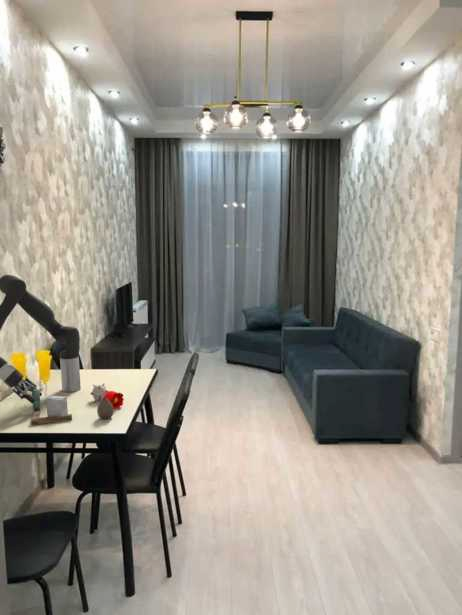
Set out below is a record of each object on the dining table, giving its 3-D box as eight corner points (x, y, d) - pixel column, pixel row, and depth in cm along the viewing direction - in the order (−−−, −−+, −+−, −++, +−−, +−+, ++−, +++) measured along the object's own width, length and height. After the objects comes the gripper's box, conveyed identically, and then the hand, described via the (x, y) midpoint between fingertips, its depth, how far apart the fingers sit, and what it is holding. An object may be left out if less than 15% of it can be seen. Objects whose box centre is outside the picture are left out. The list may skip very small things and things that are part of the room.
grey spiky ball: (102, 408, 242) (102, 396, 235) (86, 402, 243) (86, 389, 236) (111, 395, 248) (112, 383, 241) (96, 388, 249) (96, 376, 243)
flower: (114, 391, 239) (126, 393, 234) (110, 408, 237) (122, 410, 233) (102, 388, 233) (114, 391, 228) (97, 405, 231) (109, 407, 226)
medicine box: (68, 415, 223) (67, 396, 222) (62, 419, 219) (60, 399, 217) (53, 413, 225) (52, 395, 224) (47, 417, 221) (45, 398, 220)
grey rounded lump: (99, 415, 222) (98, 396, 220) (115, 415, 222) (113, 395, 221) (96, 421, 215) (95, 401, 214) (112, 420, 215) (111, 400, 214)
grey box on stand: (33, 410, 229) (32, 389, 228) (71, 406, 234) (70, 385, 233) (30, 424, 212) (29, 401, 210) (72, 419, 217) (70, 397, 215)
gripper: (8, 373, 218) (37, 398, 220) (20, 365, 232) (47, 388, 234) (-3, 385, 218) (26, 410, 220) (10, 376, 232) (37, 399, 234)
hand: (37, 398), depth 227 cm, fingers open, 8 cm apart
